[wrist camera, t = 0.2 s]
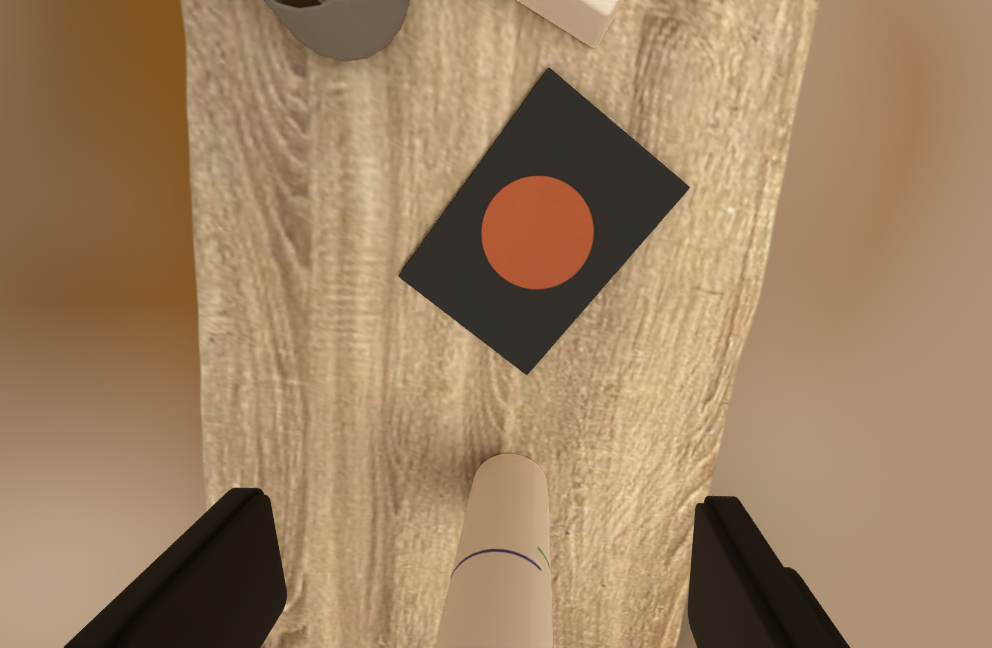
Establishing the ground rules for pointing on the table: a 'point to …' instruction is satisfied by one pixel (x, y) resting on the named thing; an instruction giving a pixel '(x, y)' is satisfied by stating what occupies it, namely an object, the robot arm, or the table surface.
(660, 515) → the table surface
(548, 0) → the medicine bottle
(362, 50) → the cup
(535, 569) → the cylindrical container
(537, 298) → the mat
